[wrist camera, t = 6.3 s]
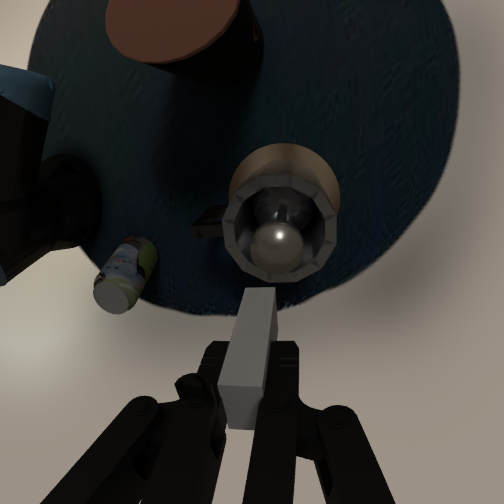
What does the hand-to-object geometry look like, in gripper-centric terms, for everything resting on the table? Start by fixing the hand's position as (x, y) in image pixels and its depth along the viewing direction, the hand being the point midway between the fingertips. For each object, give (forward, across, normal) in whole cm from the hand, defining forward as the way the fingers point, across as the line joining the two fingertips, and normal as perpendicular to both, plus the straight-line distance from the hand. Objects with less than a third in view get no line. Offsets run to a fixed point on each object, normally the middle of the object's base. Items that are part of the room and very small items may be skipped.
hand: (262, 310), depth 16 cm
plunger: (+21, 0, 0) cm, 21 cm away
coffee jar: (+25, -6, +20) cm, 33 cm away
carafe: (+24, -1, 0) cm, 24 cm away
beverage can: (+25, -21, -7) cm, 33 cm away
